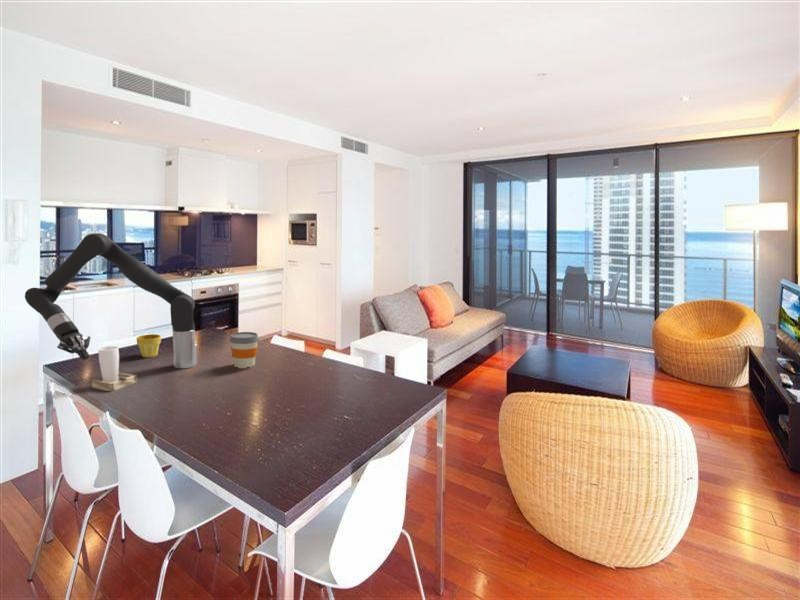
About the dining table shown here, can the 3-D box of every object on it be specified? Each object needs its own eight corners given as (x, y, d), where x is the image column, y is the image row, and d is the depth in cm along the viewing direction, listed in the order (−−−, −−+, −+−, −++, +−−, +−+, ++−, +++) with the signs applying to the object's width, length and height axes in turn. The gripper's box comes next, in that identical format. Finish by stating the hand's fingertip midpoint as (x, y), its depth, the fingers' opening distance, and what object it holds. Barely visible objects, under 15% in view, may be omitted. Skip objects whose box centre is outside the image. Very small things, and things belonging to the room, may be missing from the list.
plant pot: (144, 360, 208) (143, 340, 206) (133, 355, 214) (132, 336, 212) (165, 355, 217) (164, 336, 215) (154, 351, 222) (153, 333, 221)
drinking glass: (114, 387, 172) (111, 350, 170) (96, 386, 172) (94, 350, 170) (124, 381, 179) (122, 346, 176) (107, 380, 179) (105, 345, 176)
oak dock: (119, 378, 181) (118, 370, 181) (138, 382, 178) (137, 373, 178) (92, 387, 171) (91, 378, 170) (112, 391, 168) (111, 382, 167)
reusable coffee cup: (258, 361, 214) (258, 331, 212) (258, 368, 202) (258, 337, 200) (231, 362, 210) (230, 332, 208) (229, 370, 198) (229, 338, 196)
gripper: (49, 323, 172) (74, 357, 170) (82, 317, 185) (106, 348, 183) (41, 335, 175) (65, 368, 173) (74, 328, 187) (97, 359, 185)
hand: (86, 358), depth 178 cm, fingers closed
